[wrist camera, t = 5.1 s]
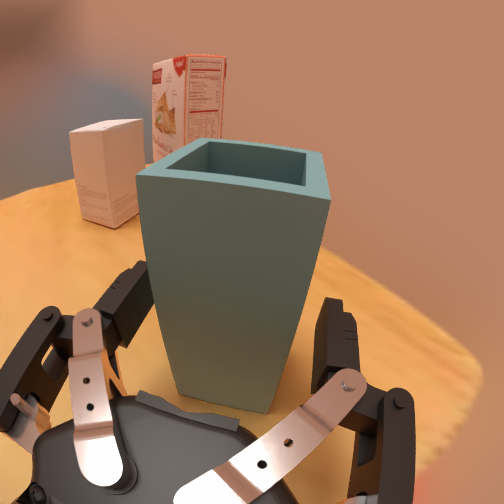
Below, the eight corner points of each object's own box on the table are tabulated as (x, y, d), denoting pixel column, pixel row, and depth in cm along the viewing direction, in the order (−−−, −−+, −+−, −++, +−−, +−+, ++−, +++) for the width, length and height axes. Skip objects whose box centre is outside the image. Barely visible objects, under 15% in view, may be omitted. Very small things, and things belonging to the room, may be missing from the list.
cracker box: (152, 181, 45) (151, 62, 33) (183, 174, 48) (186, 62, 36) (182, 211, 36) (184, 52, 24) (220, 202, 39) (229, 54, 27)
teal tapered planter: (267, 414, 15) (331, 200, 7) (178, 393, 16) (135, 174, 8) (279, 345, 20) (321, 152, 12) (204, 329, 20) (200, 137, 12)
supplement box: (150, 206, 37) (145, 117, 30) (114, 230, 31) (101, 129, 24) (115, 198, 39) (108, 118, 31) (80, 219, 33) (67, 130, 26)
